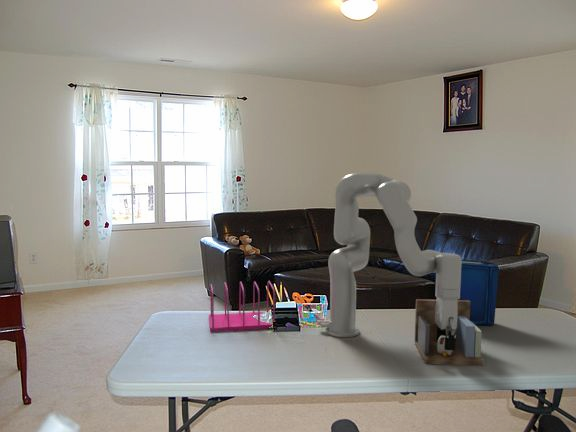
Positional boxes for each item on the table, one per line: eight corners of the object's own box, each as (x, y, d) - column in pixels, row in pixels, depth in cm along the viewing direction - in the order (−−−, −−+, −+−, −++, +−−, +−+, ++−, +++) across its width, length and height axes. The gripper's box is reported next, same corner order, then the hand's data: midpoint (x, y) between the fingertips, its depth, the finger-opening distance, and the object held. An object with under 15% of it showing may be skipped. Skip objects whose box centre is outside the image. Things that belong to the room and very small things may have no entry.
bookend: (424, 355, 158) (425, 325, 157) (417, 343, 169) (418, 314, 168) (428, 355, 158) (429, 325, 157) (421, 343, 169) (422, 315, 168)
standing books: (465, 356, 157) (466, 326, 156) (455, 344, 168) (457, 315, 167) (480, 357, 157) (481, 326, 156) (469, 344, 168) (471, 316, 167)
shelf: (425, 363, 155) (427, 314, 154) (414, 344, 173) (415, 299, 171) (483, 365, 154) (486, 315, 153) (467, 345, 172) (469, 300, 170)
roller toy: (455, 352, 161) (456, 335, 160) (449, 358, 156) (450, 341, 155) (442, 349, 163) (442, 332, 163) (435, 355, 158) (436, 338, 158)
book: (492, 321, 199) (495, 260, 197) (498, 327, 192) (501, 263, 190) (437, 319, 201) (439, 258, 199) (440, 324, 194) (443, 262, 192)
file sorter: (276, 329, 188) (277, 288, 187) (210, 332, 183) (209, 291, 182) (269, 315, 205) (269, 278, 204) (208, 318, 200) (208, 280, 199)
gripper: (429, 285, 167) (427, 335, 168) (442, 299, 149) (440, 354, 151) (452, 286, 166) (450, 335, 168) (467, 299, 149) (465, 354, 151)
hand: (445, 344), depth 159 cm, fingers open, 9 cm apart
